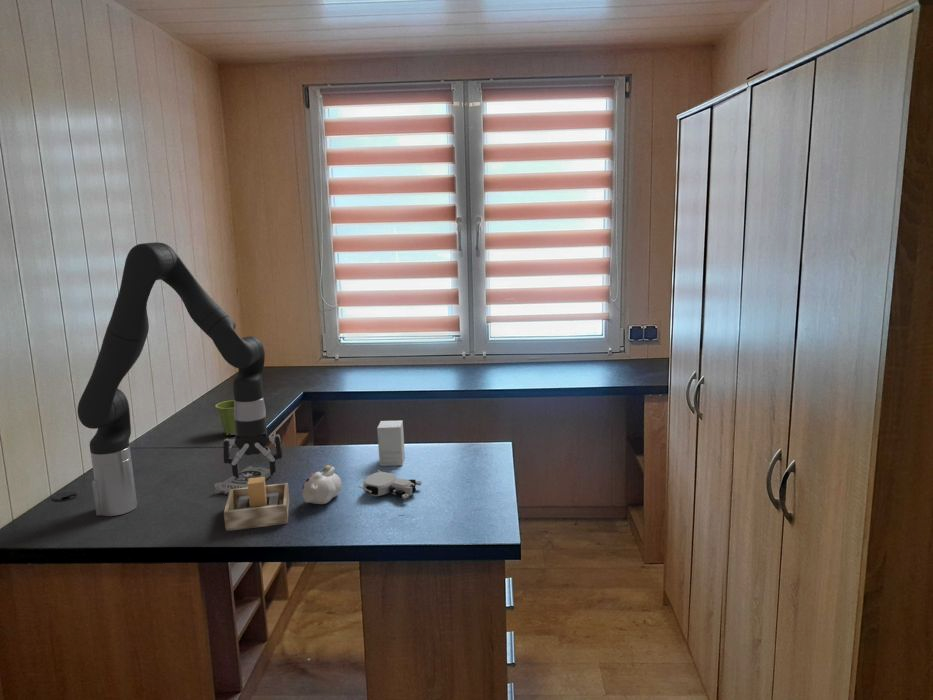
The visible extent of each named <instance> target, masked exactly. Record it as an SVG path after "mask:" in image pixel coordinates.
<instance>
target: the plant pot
mask: <svg viewBox="0 0 933 700" xmlns="http://www.w3.org/2000/svg"><path fill="white" fill-rule="evenodd" d="M214 408H216V409H217V412H218V414H219V418H220V420H221V425H222V429H223V432H225V433H226V434H233V433H236V427H235V415H234V399H233V400H226V401H222V402H218V403H217V404H215V407H214ZM225 433H224V434H225Z"/></svg>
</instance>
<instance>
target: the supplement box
mask: <svg viewBox="0 0 933 700" xmlns="http://www.w3.org/2000/svg"><path fill="white" fill-rule="evenodd" d="M376 431H377V444H378V447H377V448H378V459H379V466H380V467H390V466H391V467H398V466H401V467H402V466H403V465H404V462H405V458H406V456H405V454H406V452H405V439H404V438H405V436H404V420H380V422H379V424H378V426H377V427H376Z"/></svg>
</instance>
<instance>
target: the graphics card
mask: <svg viewBox="0 0 933 700" xmlns="http://www.w3.org/2000/svg"><path fill="white" fill-rule="evenodd" d="M257 477H265V481H266V480H267V479H268V478H270V477H271V475H270V468H266V467H263V466H258V467H257V466H256V467H255V466H253V465H248V466H247V467H246V468H244V469H242V470H241V471H240V470H239V478H236V476H233V475H231V476H230V477H229V478H227V479H225V480H224V481H222V482H220V481H219V482H216V483H215V484H214V491H215V495H217V494H225V495H226V496H229V493H230V489H237V488H246V487H248V480H249V478H257Z"/></svg>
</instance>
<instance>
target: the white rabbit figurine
mask: <svg viewBox="0 0 933 700" xmlns="http://www.w3.org/2000/svg"><path fill="white" fill-rule="evenodd" d="M335 470H336V468H335V467H334V466H331V464H330V465H329V464H327V465H325V466H323V469H322V472H321V471H316V472H314V473H313V472H311V473H310V475H309V478H307V479H306V480H305V483H304V485H302V488H301V489H302V497H303V502H305V503H311V504H314V505H324V504H328V503H329V502H330V501H332V499H333V498H335V497H337V496H338V495H339V493H340V492H341V490H342V485H343V483H342V480H341V478H340V476H339V475H338V474H337V473H335Z"/></svg>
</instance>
